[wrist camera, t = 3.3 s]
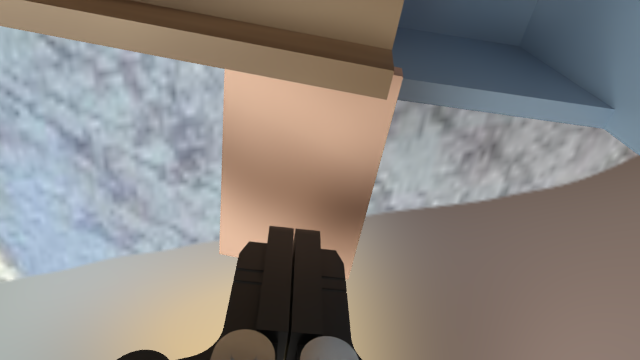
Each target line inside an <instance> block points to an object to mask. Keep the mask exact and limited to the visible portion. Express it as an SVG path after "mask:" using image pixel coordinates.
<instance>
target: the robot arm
mask: <svg viewBox="0 0 640 360" xmlns="http://www.w3.org/2000/svg"><path fill="white" fill-rule="evenodd" d="M293 237H294V240H293ZM117 360H169V359H168V358H167V357H166V356H164V355H163V354H161V353H159V352H156V351H153V350H139V351H135V352H131V353H128V354H126V355H124V356H122V357H121V358H119V359H117ZM178 360H362V359H361V358H360V357H359V355H358V354H357V353H356V351H355V349H354V347H353V344H352V340H351V332H350V322H349V311H348V301H347V293H346V281H345V269H344V263H343V261H342V260H341V258H340V256H339V255H338V253H337V251H336V250H329V249H321V238H320V231H315V230H306V229H297V228H296V229H295V234H294V228H287V227H278V226H269V233H268V241H267V243H260V242H251V241H249V242H248V243H247V245H246V246H245V247H244V248H243V249H242V251H241V252H240V253H239V257H238V261H237V266H236V271H235V276H234V281H233V285H232V291H231V295H230V300H229V305H228V310H227V314H226V319H225V324H224V328H223V332H222V334H221V336H220V338H219V339H218V340H217V342H216V343H215V344H214V345H213V346H211V347H210V348H209V349H208V350H206V351H204V352H202V353H200V354H198V355H195V356H191V357H188V358H183V359H178Z"/></svg>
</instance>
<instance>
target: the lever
mask: <svg viewBox="0 0 640 360" xmlns="http://www.w3.org/2000/svg"><path fill="white" fill-rule="evenodd" d="M403 3H404V0H0V26H4V27H9V28H14V29H19V30H25V31H30V32H35V33H40V34H45V35H51V36H56V37H61V38H66V39H72V40H77V41H82V42H87V43H92V44H98V45H103V46H108V47H113V48H118V49H124V50H129V51H134V52H139V53H145V54H150V55H155V56H160V57H165V58H171V59H176V60H181V61H186V62H191V63H197V64H202V65H207V66H212V67H218V68H223V69H225V76H224V111H223V146H222V181H221V216H220V252H219V254H222V255H227V256H233V257H237V258H238V257H239V253H240V252H241V251H242V249H243V248H244V247H245V246H246V245H247V243H248V242H249V241H251V242H260V243H267V241H268V233H269V226H278V227H287V228H294V234H295V229H296V228H297V229H306V230H315V231H320V238H321V249H329V250H336V251H337V253H338V255H339V256H340V258H341V260H342V261H343V263H344V269H345V279H348V278H349V275H350V271H351V267H352V264H353V260H354V256H355V253H356V249H357V245H358V241H359V238H360V234H361V230H362V226H363V223H364V219H365V216H366V212H367V208H368V205H369V201H370V197H371V194H372V190H373V186H374V183H375V179H376V175H377V172H378V168H379V164H380V161H381V157H382V153H383V150H384V146H385V142H386V139H387V135H388V131H389V128H390V124H391V120H392V117H393V113H394V109H395V106H396V102H397V98H398V95H399V91H400V87H401V84H402V80H403V72H402V68H399V67H394V64H393V55H392V48H393V44H394V40H395V36H396V32H397V28H398V23H399V19H400V15H401V11H402V7H403ZM293 240H294V237H293Z"/></svg>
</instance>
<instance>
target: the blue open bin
mask: <svg viewBox="0 0 640 360" xmlns="http://www.w3.org/2000/svg"><path fill="white" fill-rule="evenodd" d="M392 55H393V64H394V67H399V68H402V72H403V80H402V84H401V87H400V91H399V95H398V98H397V100H402V101H409V102H417V103H424V104H431V105H438V106H445V107H452V108H459V109H466V110H474V111H481V112H488V113H495V114H502V115H509V116H516V117H523V118H531V119H538V120H545V121H552V122H559V123H566V124H573V125H580V126H588V127H595V128H602V129H605V130H606V131H607V132H609V133H610V134H611V135H613V136H614V137H615V138H617V139H618V140H619V141H621V142H622V143H623V144H625V145H626V146H627V147H629V148H630V149H631V150H633V151H634V152H635V153H637V154H638V155H639V156H640V0H404V3H403V7H402V11H401V15H400V19H399V23H398V28H397V32H396V36H395V40H394V44H393V48H392Z"/></svg>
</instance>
